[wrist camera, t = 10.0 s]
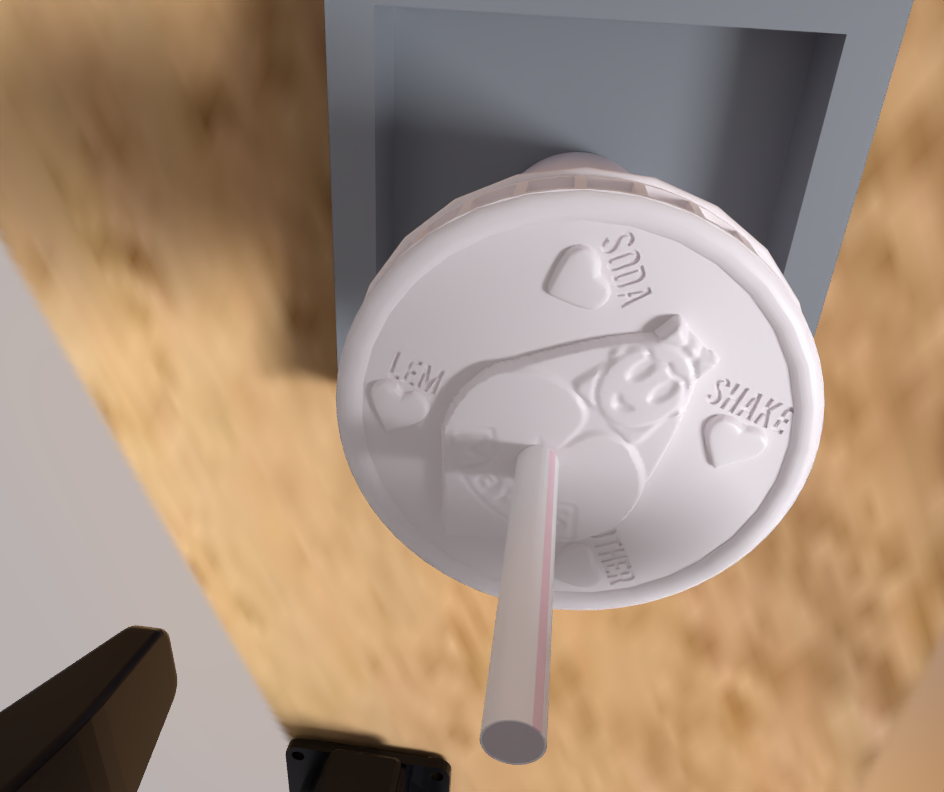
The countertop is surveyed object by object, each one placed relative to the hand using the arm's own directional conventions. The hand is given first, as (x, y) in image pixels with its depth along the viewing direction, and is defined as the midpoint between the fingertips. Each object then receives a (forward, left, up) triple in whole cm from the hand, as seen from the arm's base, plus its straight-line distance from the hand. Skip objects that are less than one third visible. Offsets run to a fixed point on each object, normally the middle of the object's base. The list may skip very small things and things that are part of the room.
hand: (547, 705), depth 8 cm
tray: (+2, 0, -13) cm, 13 cm away
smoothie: (+2, 0, -12) cm, 13 cm away
